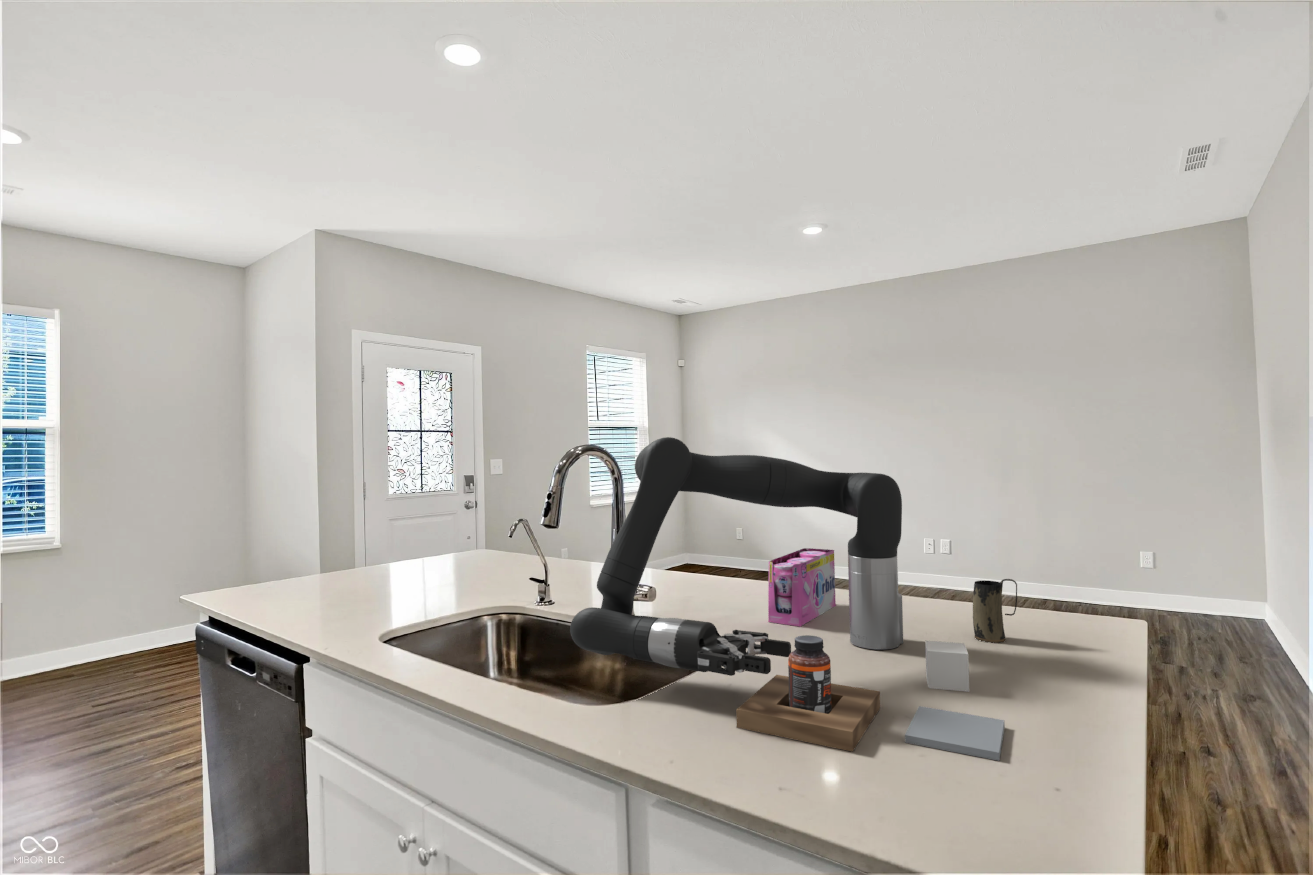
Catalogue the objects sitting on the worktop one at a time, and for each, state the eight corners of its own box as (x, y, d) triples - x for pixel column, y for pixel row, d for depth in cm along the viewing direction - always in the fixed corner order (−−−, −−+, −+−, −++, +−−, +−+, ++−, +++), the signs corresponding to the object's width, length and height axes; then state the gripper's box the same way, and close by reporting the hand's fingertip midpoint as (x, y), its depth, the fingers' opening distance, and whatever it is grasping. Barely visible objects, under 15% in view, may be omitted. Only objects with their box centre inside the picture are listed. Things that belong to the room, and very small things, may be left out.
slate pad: (919, 712, 97) (919, 705, 97) (1004, 727, 92) (1004, 720, 92) (905, 742, 88) (904, 734, 88) (999, 760, 82) (999, 752, 82)
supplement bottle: (833, 727, 93) (831, 645, 93) (789, 724, 94) (787, 643, 94) (830, 710, 99) (828, 633, 99) (789, 708, 100) (787, 631, 100)
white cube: (928, 688, 107) (927, 650, 107) (926, 676, 113) (924, 640, 113) (969, 692, 105) (968, 653, 105) (965, 679, 111) (964, 642, 111)
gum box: (799, 628, 143) (797, 564, 143) (764, 624, 148) (763, 562, 148) (836, 605, 163) (835, 549, 163) (805, 601, 168) (804, 547, 168)
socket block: (776, 690, 108) (776, 674, 108) (880, 708, 99) (879, 691, 100) (736, 727, 94) (736, 709, 94) (852, 751, 86) (852, 731, 86)
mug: (972, 640, 132) (971, 579, 132) (974, 633, 137) (972, 574, 137) (1018, 645, 128) (1016, 582, 128) (1018, 638, 133) (1016, 577, 133)
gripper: (660, 630, 101) (761, 644, 93) (702, 609, 113) (795, 620, 105) (661, 681, 101) (763, 699, 93) (704, 654, 113) (797, 668, 105)
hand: (780, 657), depth 99 cm, fingers open, 8 cm apart
